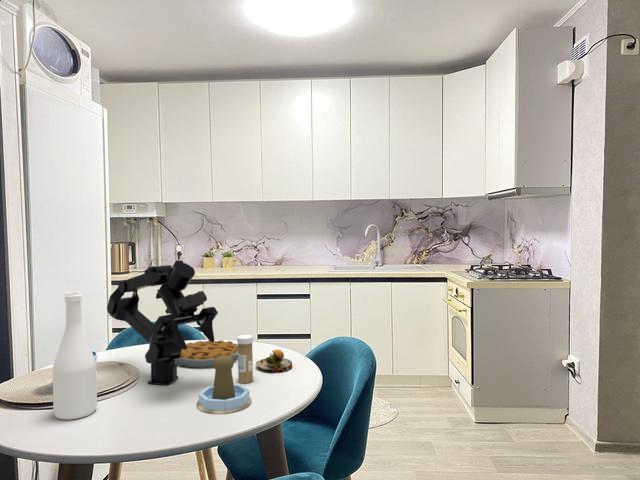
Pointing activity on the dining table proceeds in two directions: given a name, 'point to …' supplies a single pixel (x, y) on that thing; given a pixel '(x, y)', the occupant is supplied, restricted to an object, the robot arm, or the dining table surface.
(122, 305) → the robot arm
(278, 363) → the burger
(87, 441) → the dining table surface
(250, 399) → the placemat
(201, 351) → the pie
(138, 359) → the dining table surface
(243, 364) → the sprinkles bottle
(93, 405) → the wine bottle
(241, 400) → the bowl
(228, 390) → the cork
